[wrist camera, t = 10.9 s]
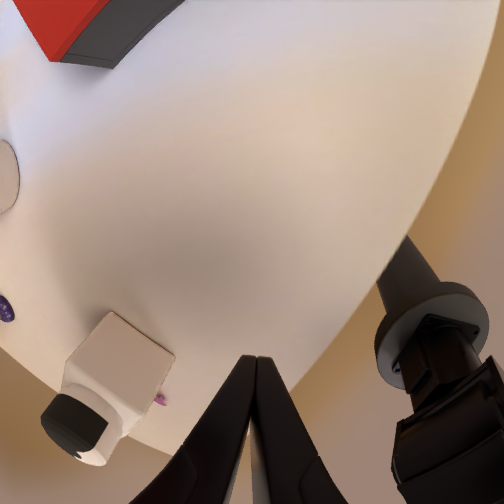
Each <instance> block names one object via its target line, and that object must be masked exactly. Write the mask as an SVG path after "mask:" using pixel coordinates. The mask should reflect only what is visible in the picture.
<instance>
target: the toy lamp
mask: <svg viewBox="0 0 504 504" xmlns="http://www.w3.org/2000/svg"><path fill="white" fill-rule="evenodd" d="M0 319H1V320H2V321H4V322H11V321H13V320H14V313H13V310H12V308H11V306H10V304H9V303H8V301H7V300H6V299H5V298H4V297H3V296H1V295H0Z"/></svg>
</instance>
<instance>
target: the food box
mask: <svg viewBox="0 0 504 504" xmlns="http://www.w3.org/2000/svg"><path fill="white" fill-rule="evenodd" d="M183 1H184V0H110V1H109V2H108V3H107V4H106V5H105V6H104V7H103V8H102V9H101V11H100V12H99V13H98V14H97V15H96V16H95V17H94V18H93V19H92V21H91V22H90V23H89V24H88V25H87V26H86V28H85V29H84V30H83V31H82V32H81V34H80V35H79V36H78V37H77V39H76V40H75V41H74V42H73V44H72V45H71V46H70V48H69V49H68V50H67V52H66V53H65V54H64V56H63V57H62V58H61V60H60V61H59V62H61V63H72V64H81V65H89V66H97V67H104V68H111V69H113V68H114V67H115V66H116V65H117V64H118V63H119V62H120V61H121V59H122V58H123V57H124V56H125V55H126V54H127V53H128V52H129V51H130V50H131V49H132V48H133V47H134V46H135V45H136V44H137V43H138V42H139V41H140V40H141V39H142V38H143V37H144V36H145V35H146V34H147V33H148V32H149V31H150V30H151V29H152V28H153V27H154V26H155V25H157V24H158V23H159V22H160V21H161V20H162V19H163V18H164V17H165V16H167V15H168V14H169V13H170V12H171V11H172V10H174V9H175V8H176V7H177V6H178V5H180V4H181V3H182V2H183Z"/></svg>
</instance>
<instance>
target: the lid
mask: <svg viewBox="0 0 504 504" xmlns="http://www.w3.org/2000/svg"><path fill="white" fill-rule="evenodd" d="M109 1H110V0H13V2H14V3H15V5H16V7H17V9H18V10H19V12H20V14H21V16H22V17H23V19H24V21H25V22H26V24H27V26H28V27H29V29H30V31H31V32H32V34H33V36H34V37H35V39H36V41H37V42H38V44H39V45H40V47H41V49H42V50H43V52H44V53H45V55H46V57H47V58H48V60H49V61H50V62H59V61H60V60H61V58H62V57H63V56H64V54H65V53H66V52H67V50H68V49H69V48H70V46H71V45H72V44H73V42H74V41H75V40H76V39H77V37H78V36H79V35H80V34H81V32H82V31H83V30H84V29H85V28H86V26H87V25H88V24H89V23H90V22H91V21H92V19H93V18H94V17H95V16H96V15H97V14H98V13H99V12H100V11H101V9H102V8H103V7H104V6H105V5H106V4H107V3H108V2H109Z"/></svg>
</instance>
